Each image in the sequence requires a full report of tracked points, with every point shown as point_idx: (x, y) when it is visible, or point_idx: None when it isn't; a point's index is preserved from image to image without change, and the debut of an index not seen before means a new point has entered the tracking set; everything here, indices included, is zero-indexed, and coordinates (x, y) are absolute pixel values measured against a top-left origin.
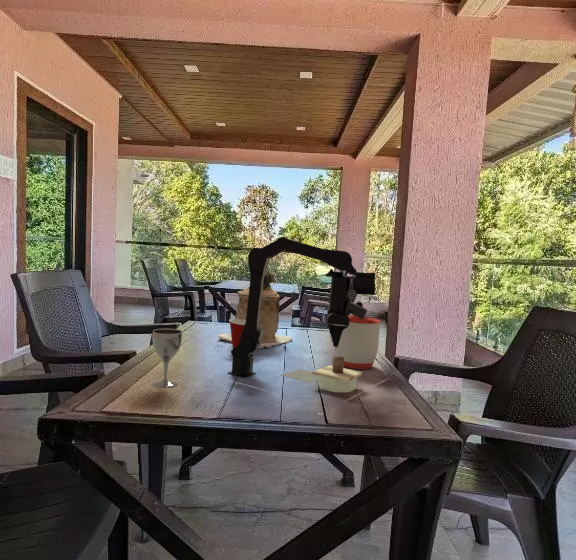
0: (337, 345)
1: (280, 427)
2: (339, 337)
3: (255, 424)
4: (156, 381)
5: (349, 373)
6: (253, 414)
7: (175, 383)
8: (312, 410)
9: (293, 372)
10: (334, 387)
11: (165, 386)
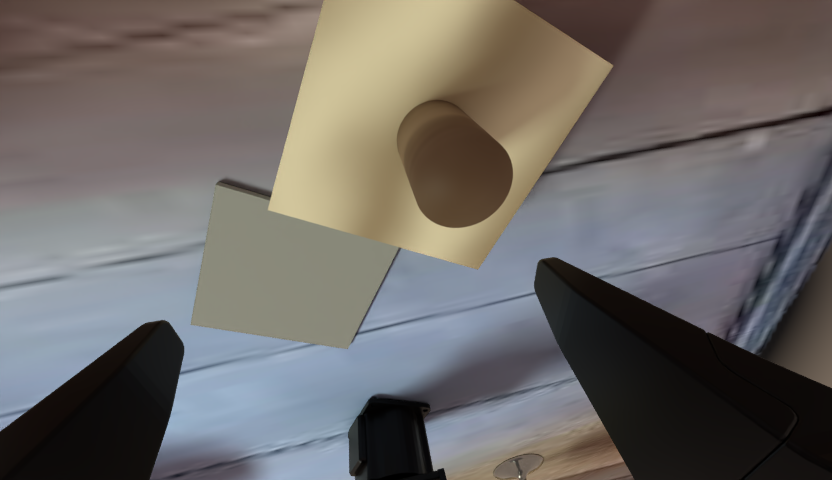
0: (569, 270)
1: (821, 227)
2: (692, 337)
3: (781, 278)
4: (515, 478)
5: (445, 45)
6: (717, 299)
7: (518, 460)
8: (719, 172)
9: (274, 327)
10: None
11: (540, 460)
